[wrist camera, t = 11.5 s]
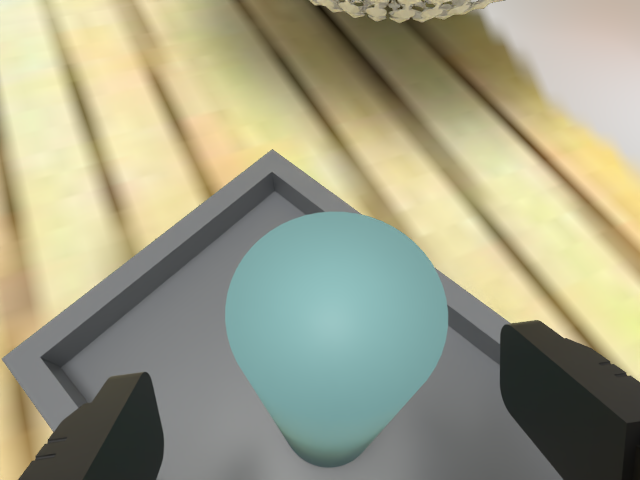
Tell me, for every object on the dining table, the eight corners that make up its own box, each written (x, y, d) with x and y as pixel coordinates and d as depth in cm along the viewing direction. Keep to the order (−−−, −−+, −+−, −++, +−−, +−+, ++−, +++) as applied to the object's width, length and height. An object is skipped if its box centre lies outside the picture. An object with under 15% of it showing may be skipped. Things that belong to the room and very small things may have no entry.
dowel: (261, 417, 17) (179, 308, 7) (325, 348, 18) (328, 179, 8) (331, 491, 15) (347, 481, 6) (395, 411, 17) (491, 297, 7)
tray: (36, 374, 18) (1, 358, 16) (276, 178, 23) (272, 149, 21) (431, 909, 11) (455, 998, 9) (648, 461, 16) (692, 456, 14)
